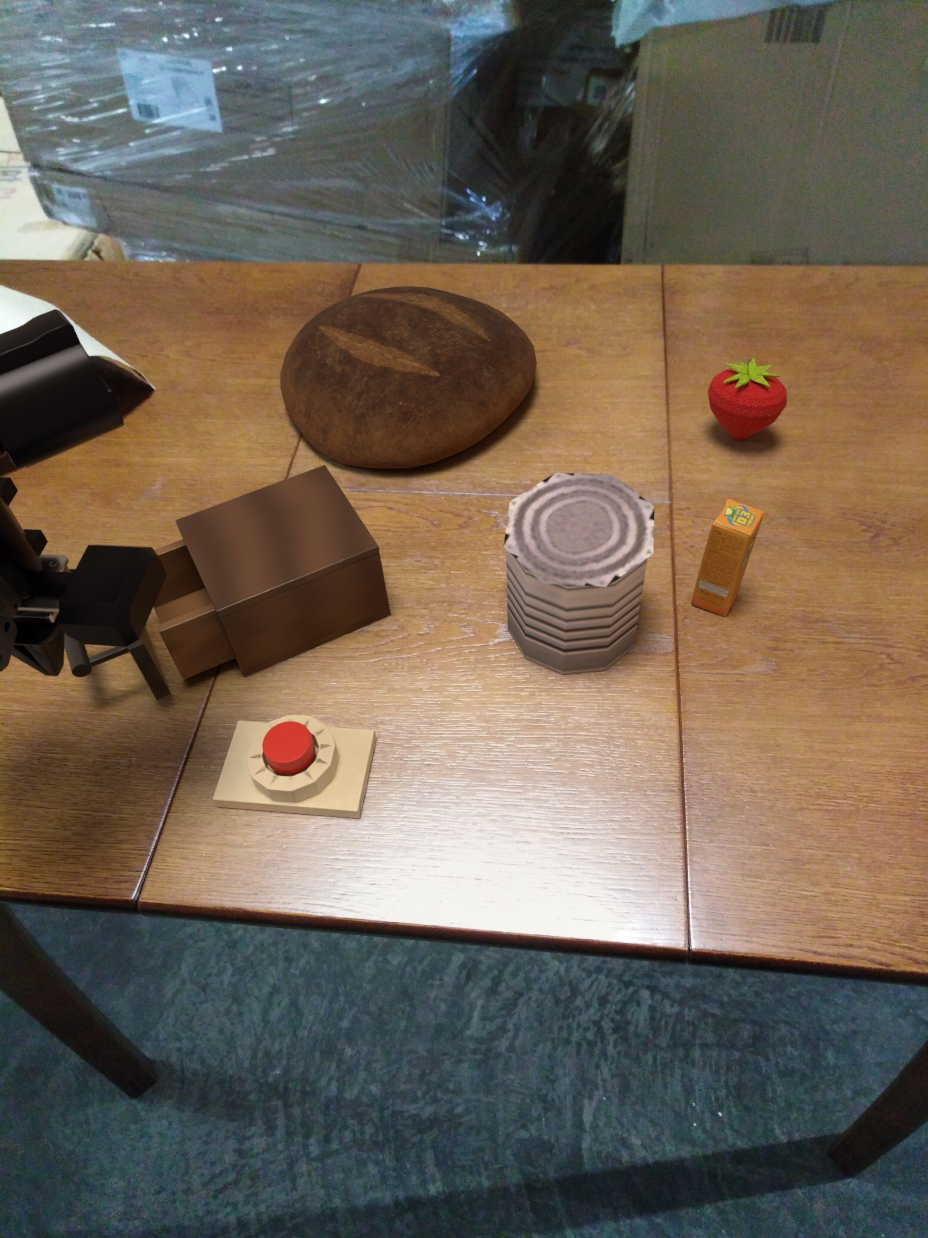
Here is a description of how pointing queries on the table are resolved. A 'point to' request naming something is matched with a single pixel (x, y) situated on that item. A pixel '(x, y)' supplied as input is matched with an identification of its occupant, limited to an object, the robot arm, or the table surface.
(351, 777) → the control block
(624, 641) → the can
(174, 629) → the brown drawer
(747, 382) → the strawberry
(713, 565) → the supplement box
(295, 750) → the button
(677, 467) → the table surface
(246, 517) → the brown wooden drawer box
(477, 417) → the bread
